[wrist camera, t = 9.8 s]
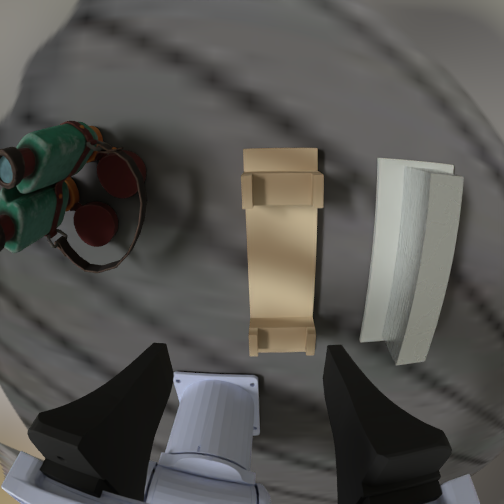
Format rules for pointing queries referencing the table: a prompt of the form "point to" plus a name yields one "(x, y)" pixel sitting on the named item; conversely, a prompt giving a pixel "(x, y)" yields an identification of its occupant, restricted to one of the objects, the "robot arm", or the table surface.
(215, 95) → the table surface
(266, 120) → the table surface
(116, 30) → the table surface
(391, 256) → the mat
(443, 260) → the rail
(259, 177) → the rack
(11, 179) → the binoculars
